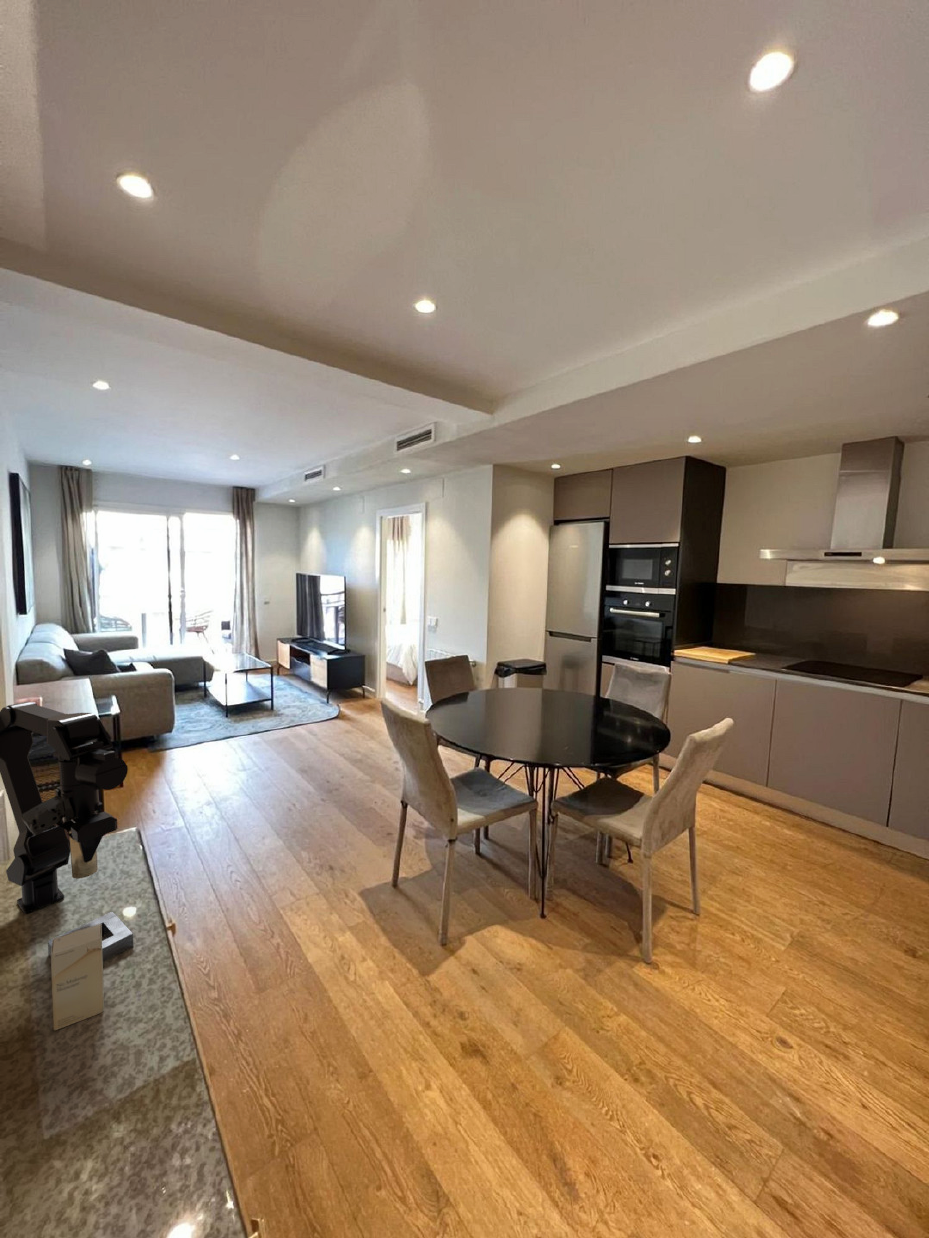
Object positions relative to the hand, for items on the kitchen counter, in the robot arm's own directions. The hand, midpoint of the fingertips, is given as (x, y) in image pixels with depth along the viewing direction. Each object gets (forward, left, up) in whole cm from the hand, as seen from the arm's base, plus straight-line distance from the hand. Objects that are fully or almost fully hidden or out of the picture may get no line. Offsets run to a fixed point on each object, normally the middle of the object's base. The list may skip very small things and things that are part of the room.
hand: (84, 857), depth 97 cm
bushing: (0, 0, -3) cm, 3 cm away
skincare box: (+24, -8, -13) cm, 28 cm away
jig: (+10, -2, -13) cm, 16 cm away
